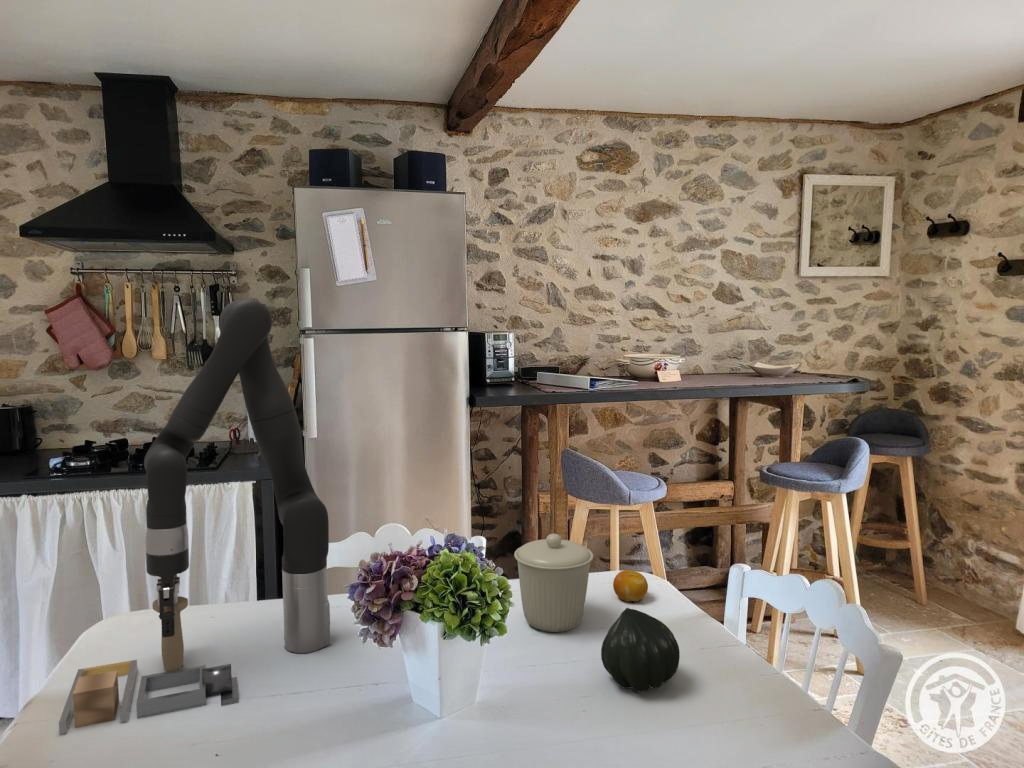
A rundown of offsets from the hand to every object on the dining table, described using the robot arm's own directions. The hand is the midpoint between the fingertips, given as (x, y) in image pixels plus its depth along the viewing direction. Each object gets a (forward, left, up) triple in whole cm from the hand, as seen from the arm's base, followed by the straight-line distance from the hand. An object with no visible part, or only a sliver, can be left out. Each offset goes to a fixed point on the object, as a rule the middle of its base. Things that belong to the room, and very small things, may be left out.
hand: (169, 627), depth 141 cm
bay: (+11, +8, -10) cm, 17 cm away
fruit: (-104, +3, -10) cm, 105 cm away
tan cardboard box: (+11, +13, -8) cm, 19 cm away
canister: (-80, +8, -10) cm, 81 cm away
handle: (0, 0, -10) cm, 10 cm away
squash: (-84, +38, -10) cm, 93 cm away
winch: (-4, +12, -10) cm, 16 cm away
